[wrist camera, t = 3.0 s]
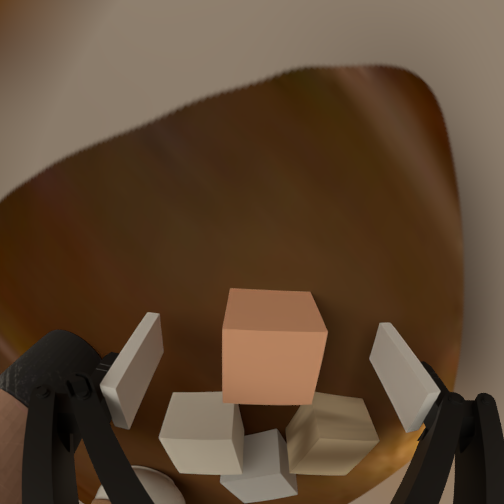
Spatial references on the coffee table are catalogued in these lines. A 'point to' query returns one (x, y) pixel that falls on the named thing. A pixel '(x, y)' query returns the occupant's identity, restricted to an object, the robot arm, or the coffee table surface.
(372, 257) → the coffee table surface
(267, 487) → the cube grey
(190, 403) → the cube cream
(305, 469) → the cube maple
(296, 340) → the cube terracotta
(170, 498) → the lidded jar
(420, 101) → the coffee table surface
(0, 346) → the coffee table surface
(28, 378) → the travel mug
